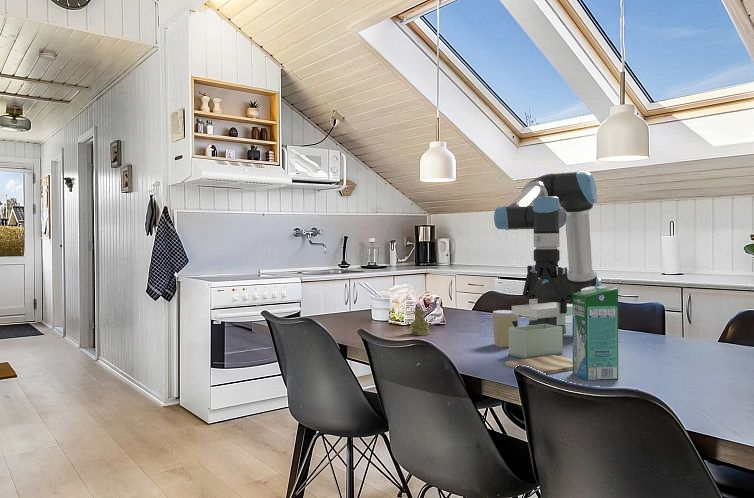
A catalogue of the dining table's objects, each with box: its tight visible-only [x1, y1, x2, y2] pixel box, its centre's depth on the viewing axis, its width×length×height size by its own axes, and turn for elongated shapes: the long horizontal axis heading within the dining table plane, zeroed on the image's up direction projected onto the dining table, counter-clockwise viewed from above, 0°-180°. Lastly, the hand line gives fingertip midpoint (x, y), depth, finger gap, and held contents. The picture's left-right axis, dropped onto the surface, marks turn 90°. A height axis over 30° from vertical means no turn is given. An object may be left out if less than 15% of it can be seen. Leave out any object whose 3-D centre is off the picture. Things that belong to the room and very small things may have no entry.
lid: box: [511, 302, 573, 319], centre depth 175 cm, size 18×10×3 cm, turn 119°
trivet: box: [504, 355, 573, 375], centre depth 176 cm, size 20×15×1 cm
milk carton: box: [571, 284, 619, 381], centre depth 162 cm, size 9×9×25 cm
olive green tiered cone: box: [410, 308, 430, 336], centre depth 235 cm, size 7×7×10 cm
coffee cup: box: [491, 309, 520, 348], centre depth 209 cm, size 9×9×12 cm
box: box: [508, 324, 564, 359], centre depth 192 cm, size 16×8×9 cm, turn 119°
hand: (546, 322), depth 175 cm, fingers closed on lid, 10 cm apart
